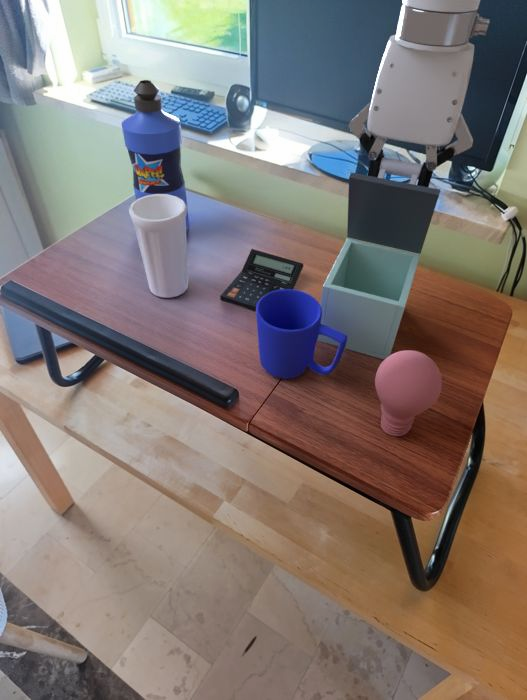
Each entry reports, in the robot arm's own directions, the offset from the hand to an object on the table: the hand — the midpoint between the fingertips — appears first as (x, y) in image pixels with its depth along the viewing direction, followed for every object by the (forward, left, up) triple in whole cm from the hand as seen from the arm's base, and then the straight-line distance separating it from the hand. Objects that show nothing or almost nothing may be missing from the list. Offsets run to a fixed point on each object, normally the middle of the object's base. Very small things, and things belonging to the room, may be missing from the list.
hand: (395, 189), depth 62 cm
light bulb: (-8, +23, -19) cm, 31 cm away
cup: (+31, +9, -19) cm, 38 cm away
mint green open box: (0, +5, -19) cm, 20 cm away
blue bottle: (+41, -7, -19) cm, 46 cm away
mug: (+6, +18, -19) cm, 27 cm away
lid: (0, +2, -3) cm, 4 cm away
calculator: (+17, +3, -19) cm, 26 cm away
